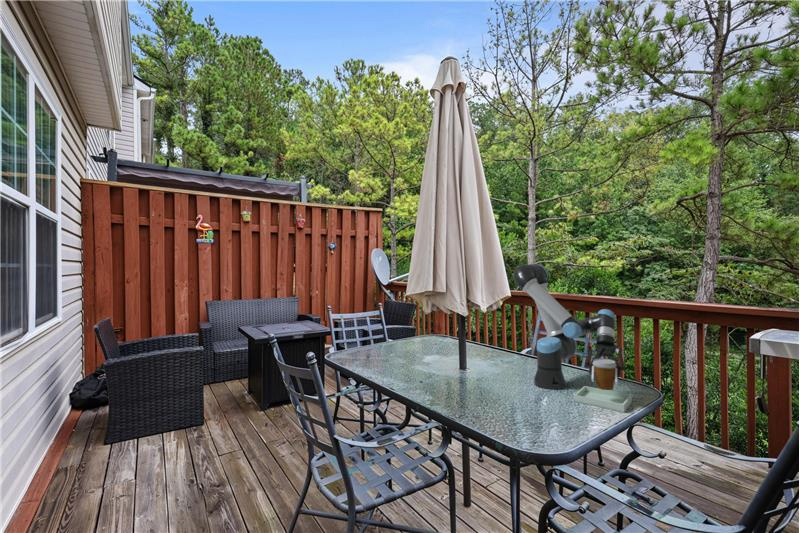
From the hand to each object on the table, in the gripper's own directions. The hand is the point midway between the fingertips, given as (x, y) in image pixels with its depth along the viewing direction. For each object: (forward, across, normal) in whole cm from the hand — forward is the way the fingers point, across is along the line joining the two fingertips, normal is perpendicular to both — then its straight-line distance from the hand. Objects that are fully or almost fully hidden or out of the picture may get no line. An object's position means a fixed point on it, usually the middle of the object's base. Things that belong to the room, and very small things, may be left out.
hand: (604, 381), depth 170 cm
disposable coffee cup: (0, 0, -5) cm, 5 cm away
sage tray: (+5, +1, -10) cm, 11 cm away
